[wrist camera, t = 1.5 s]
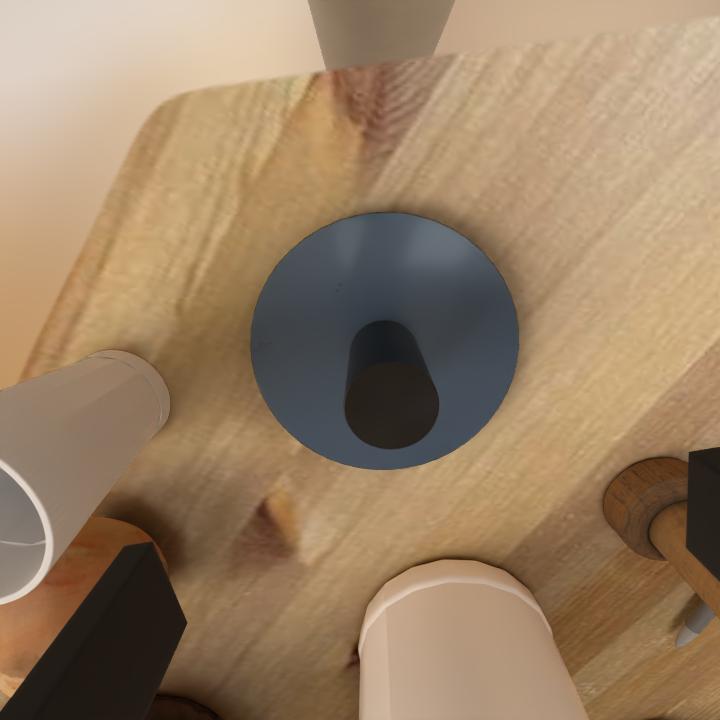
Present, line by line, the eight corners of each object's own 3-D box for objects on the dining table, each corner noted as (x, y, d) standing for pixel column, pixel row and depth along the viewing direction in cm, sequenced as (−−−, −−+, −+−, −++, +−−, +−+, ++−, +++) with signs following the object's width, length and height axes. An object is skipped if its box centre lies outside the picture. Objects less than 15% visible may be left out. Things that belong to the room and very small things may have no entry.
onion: (27, 516, 30) (-129, 652, 21) (146, 467, 29) (37, 588, 19) (105, 613, 33) (-1, 772, 23) (217, 572, 31) (153, 724, 22)
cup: (190, 452, 28) (73, 608, 17) (72, 452, 28) (-124, 607, 17) (174, 336, 26) (23, 428, 14) (44, 337, 26) (-207, 428, 15)
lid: (222, 243, 24) (148, 255, 16) (499, 185, 23) (574, 165, 15) (290, 477, 29) (260, 580, 21) (522, 438, 28) (589, 531, 19)
